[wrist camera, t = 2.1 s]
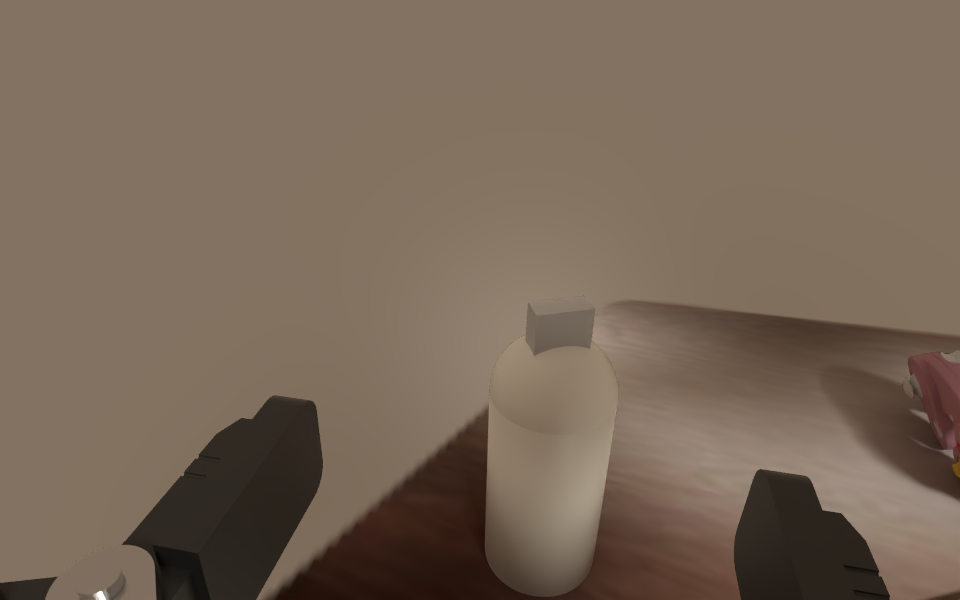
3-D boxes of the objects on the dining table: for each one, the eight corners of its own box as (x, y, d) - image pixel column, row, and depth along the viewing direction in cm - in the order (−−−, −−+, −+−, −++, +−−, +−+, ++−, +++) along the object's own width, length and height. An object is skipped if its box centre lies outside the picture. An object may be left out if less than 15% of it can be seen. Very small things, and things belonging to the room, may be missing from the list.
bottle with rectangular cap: (569, 498, 31) (597, 269, 25) (611, 583, 27) (657, 333, 21) (473, 516, 30) (477, 281, 24) (501, 608, 26) (515, 351, 20)
